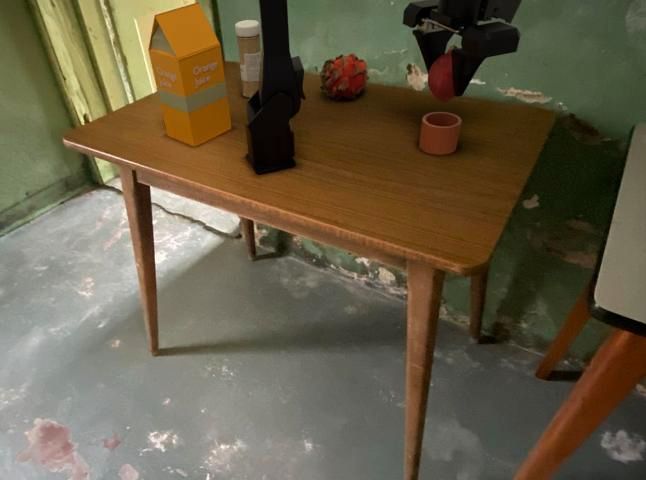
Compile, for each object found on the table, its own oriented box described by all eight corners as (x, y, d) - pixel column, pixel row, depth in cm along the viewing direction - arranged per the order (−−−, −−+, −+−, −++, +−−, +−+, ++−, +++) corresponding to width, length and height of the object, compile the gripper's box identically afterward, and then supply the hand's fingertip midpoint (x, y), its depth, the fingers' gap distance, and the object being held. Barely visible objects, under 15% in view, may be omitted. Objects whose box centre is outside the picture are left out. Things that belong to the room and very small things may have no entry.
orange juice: (232, 128, 88) (216, 4, 75) (194, 147, 83) (170, 18, 70) (203, 118, 92) (183, -1, 79) (166, 135, 87) (138, 11, 74)
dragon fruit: (318, 113, 94) (358, 103, 101) (348, 95, 88) (389, 85, 94) (302, 70, 93) (344, 62, 100) (331, 48, 86) (374, 42, 93)
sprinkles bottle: (242, 91, 101) (234, 20, 92) (264, 89, 101) (258, 18, 92) (243, 99, 97) (235, 27, 89) (265, 97, 98) (260, 24, 89)
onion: (465, 110, 71) (477, 53, 66) (424, 109, 72) (432, 52, 67) (462, 95, 75) (473, 39, 70) (424, 94, 76) (431, 39, 71)
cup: (431, 158, 76) (436, 130, 73) (412, 142, 80) (415, 116, 77) (463, 150, 77) (469, 123, 74) (442, 135, 81) (447, 109, 78)
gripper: (574, -30, 57) (535, 101, 68) (474, -51, 71) (455, 61, 81) (494, -18, 55) (466, 116, 65) (406, -42, 68) (395, 72, 78)
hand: (446, 88), depth 72 cm, fingers closed on onion, 6 cm apart
